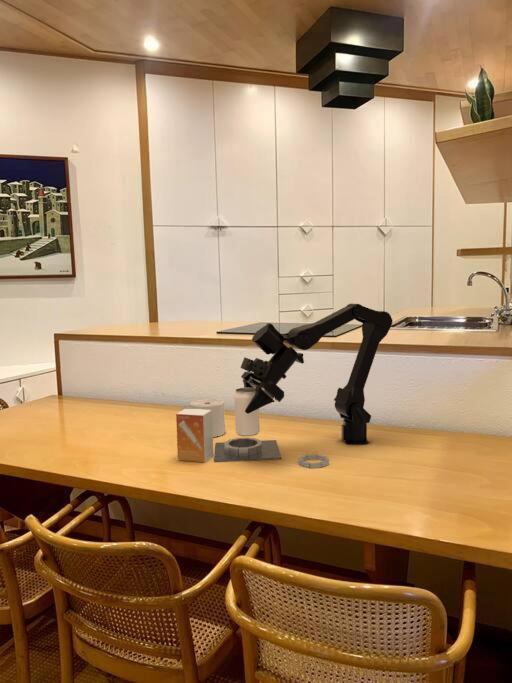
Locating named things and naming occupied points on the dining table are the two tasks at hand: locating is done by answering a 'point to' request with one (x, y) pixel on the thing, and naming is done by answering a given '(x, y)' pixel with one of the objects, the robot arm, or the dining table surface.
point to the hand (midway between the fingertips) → (242, 409)
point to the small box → (194, 435)
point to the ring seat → (246, 450)
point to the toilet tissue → (217, 413)
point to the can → (244, 421)
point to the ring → (313, 465)
